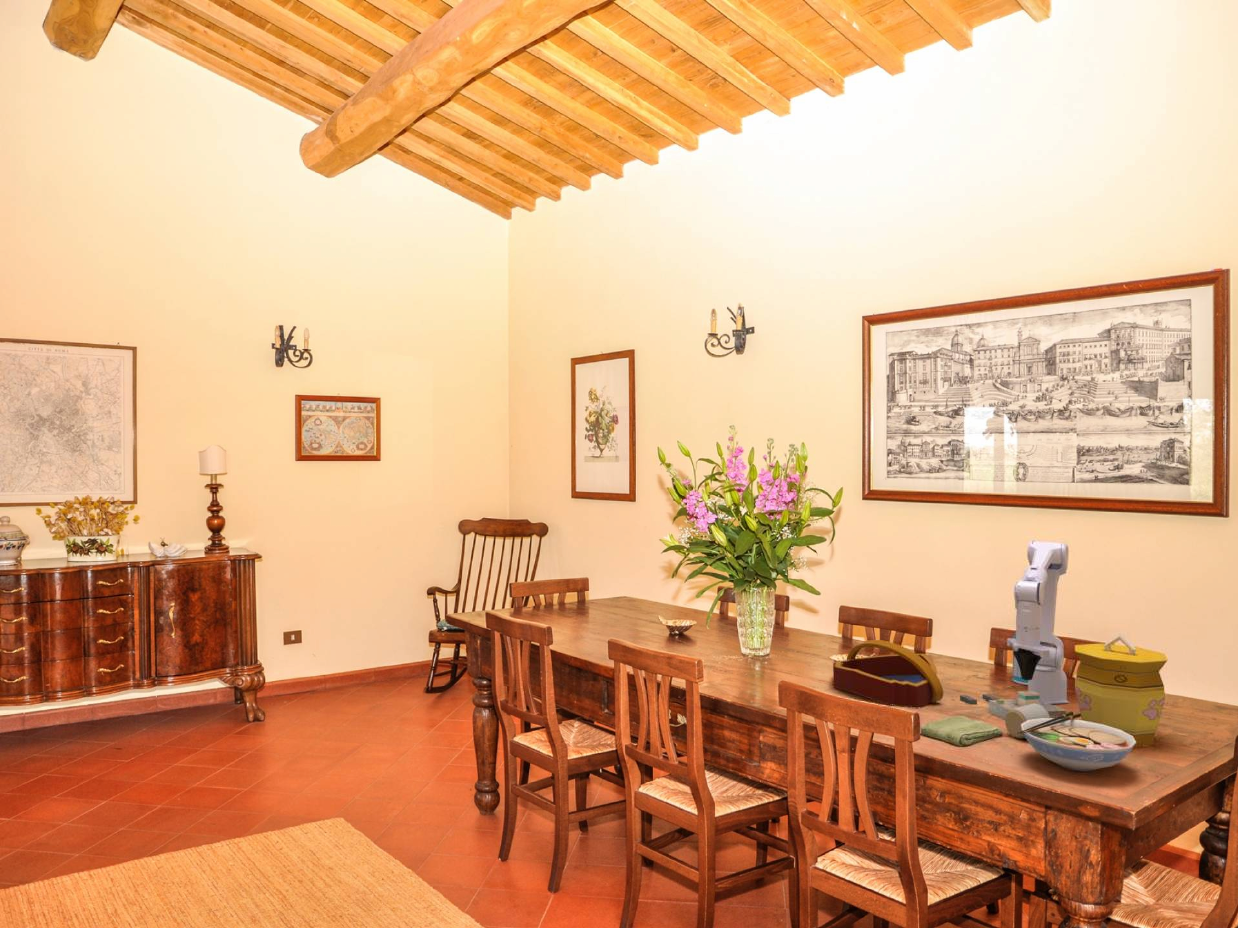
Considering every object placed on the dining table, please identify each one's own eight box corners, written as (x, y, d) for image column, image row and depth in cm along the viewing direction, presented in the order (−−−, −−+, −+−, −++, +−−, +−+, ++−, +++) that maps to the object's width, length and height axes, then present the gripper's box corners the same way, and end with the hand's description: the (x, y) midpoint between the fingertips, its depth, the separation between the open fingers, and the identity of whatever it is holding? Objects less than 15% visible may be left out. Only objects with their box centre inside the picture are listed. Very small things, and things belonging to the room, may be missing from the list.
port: (1035, 709, 248) (1035, 695, 248) (1065, 722, 236) (1066, 708, 236) (988, 712, 245) (988, 698, 245) (1017, 725, 233) (1017, 710, 233)
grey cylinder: (1001, 734, 226) (1002, 703, 226) (1026, 730, 229) (1027, 699, 229) (1037, 748, 216) (1039, 715, 216) (1062, 743, 220) (1063, 711, 220)
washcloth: (1006, 737, 225) (1006, 724, 225) (961, 749, 215) (962, 736, 215) (958, 723, 236) (959, 711, 236) (914, 735, 226) (914, 721, 226)
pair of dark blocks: (988, 698, 259) (989, 693, 259) (999, 703, 254) (999, 698, 254) (959, 699, 257) (960, 695, 257) (970, 704, 252) (970, 700, 252)
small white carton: (1031, 715, 243) (1032, 690, 243) (1038, 718, 240) (1039, 693, 240) (1017, 716, 242) (1018, 691, 242) (1024, 719, 239) (1025, 694, 239)
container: (1090, 718, 241) (1092, 622, 240) (1181, 738, 225) (1183, 635, 224) (1054, 734, 227) (1056, 632, 226) (1148, 756, 211) (1151, 647, 210)
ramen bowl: (1099, 793, 187) (1100, 753, 187) (996, 761, 206) (996, 724, 206) (1157, 770, 202) (1158, 732, 202) (1056, 742, 220) (1056, 707, 220)
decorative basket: (813, 690, 274) (808, 641, 273) (888, 666, 287) (884, 619, 286) (895, 723, 244) (890, 668, 243) (974, 695, 257) (970, 642, 256)
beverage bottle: (1013, 684, 275) (1014, 617, 275) (1010, 677, 283) (1011, 612, 283) (1044, 686, 273) (1045, 619, 272) (1040, 680, 281) (1041, 614, 281)
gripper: (997, 622, 247) (996, 673, 247) (1032, 633, 233) (1031, 686, 233) (1020, 621, 248) (1019, 672, 249) (1057, 632, 234) (1056, 685, 234)
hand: (1027, 679), depth 241 cm, fingers closed
